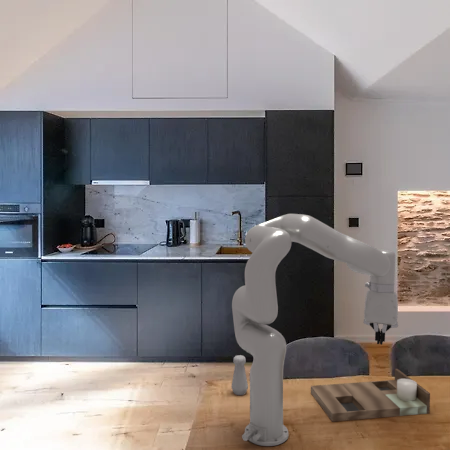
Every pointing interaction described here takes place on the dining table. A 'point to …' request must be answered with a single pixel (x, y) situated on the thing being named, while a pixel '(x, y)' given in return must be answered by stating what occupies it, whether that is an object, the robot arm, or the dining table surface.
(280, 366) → the robot arm
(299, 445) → the dining table surface
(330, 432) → the dining table surface
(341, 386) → the board
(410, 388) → the white cup
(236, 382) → the salt shaker
